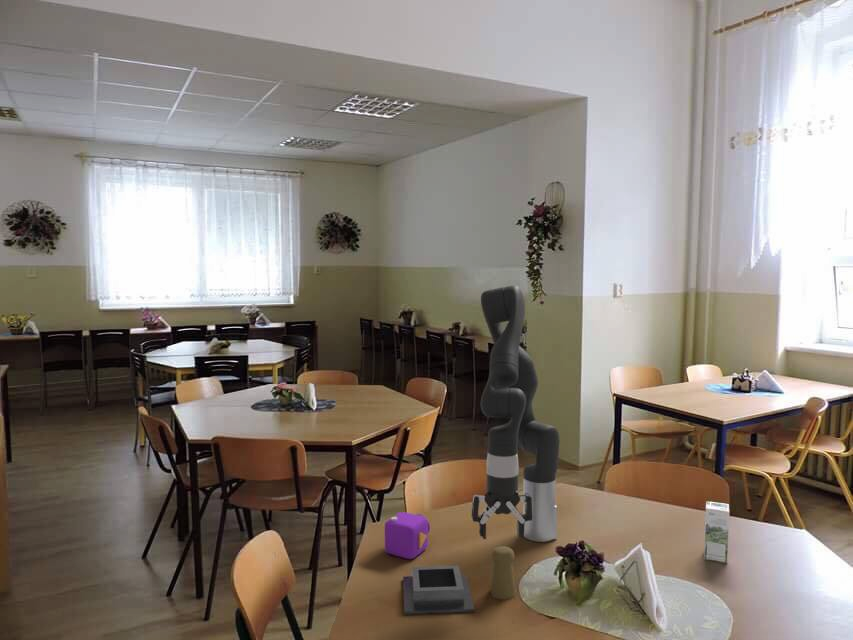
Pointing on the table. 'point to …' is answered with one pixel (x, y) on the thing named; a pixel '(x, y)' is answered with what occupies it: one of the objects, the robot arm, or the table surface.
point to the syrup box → (716, 532)
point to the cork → (503, 573)
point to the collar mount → (437, 591)
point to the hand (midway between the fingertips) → (501, 537)
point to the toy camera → (406, 535)
